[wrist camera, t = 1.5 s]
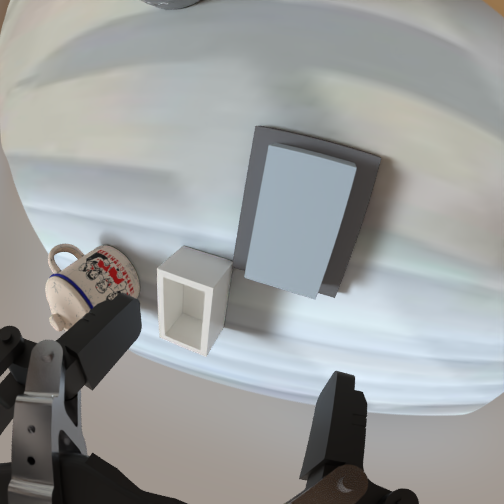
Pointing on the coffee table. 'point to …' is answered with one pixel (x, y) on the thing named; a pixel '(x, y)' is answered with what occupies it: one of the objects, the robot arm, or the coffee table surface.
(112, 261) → the teacup with lid
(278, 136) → the mat
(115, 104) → the coffee table surface
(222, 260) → the white open cubby box
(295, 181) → the lid
